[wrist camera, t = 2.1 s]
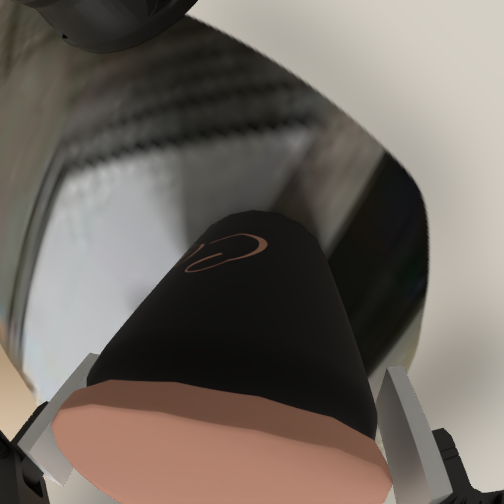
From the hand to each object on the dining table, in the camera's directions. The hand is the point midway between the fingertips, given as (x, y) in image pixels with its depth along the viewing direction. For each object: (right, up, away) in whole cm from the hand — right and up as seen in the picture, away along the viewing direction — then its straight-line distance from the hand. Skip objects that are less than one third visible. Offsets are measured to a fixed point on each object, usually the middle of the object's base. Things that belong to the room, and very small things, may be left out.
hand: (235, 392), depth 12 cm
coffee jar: (+1, +4, +11) cm, 12 cm away
